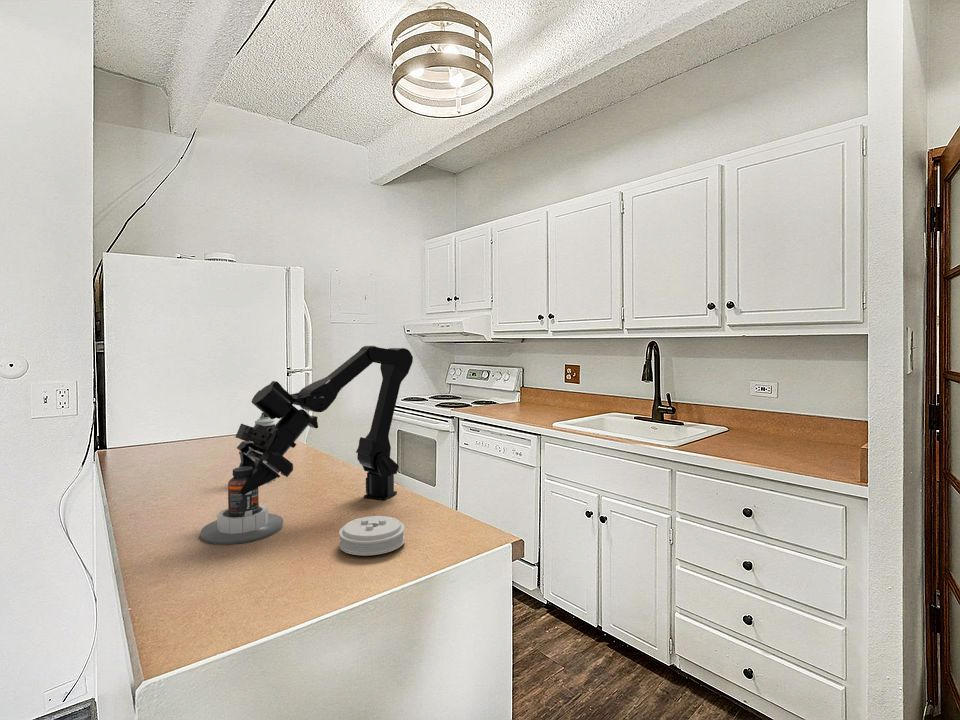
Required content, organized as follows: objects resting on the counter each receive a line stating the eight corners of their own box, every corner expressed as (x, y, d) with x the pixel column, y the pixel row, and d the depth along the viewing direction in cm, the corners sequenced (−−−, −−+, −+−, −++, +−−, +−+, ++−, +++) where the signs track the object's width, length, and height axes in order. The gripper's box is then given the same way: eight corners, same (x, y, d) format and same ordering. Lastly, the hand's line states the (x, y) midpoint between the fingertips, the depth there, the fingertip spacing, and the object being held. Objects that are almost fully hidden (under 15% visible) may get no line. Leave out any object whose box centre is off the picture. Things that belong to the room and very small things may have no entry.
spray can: (256, 483, 145) (255, 414, 144) (255, 479, 150) (253, 412, 149) (276, 481, 147) (275, 413, 147) (275, 477, 152) (273, 410, 152)
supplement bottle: (257, 523, 107) (256, 470, 107) (226, 526, 105) (225, 472, 105) (260, 514, 113) (259, 464, 112) (231, 517, 111) (229, 466, 111)
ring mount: (298, 521, 114) (298, 504, 114) (242, 549, 99) (242, 528, 99) (243, 513, 119) (243, 497, 119) (182, 538, 104) (182, 519, 104)
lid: (350, 534, 107) (349, 511, 106) (409, 535, 106) (409, 511, 106) (330, 560, 94) (329, 533, 94) (398, 560, 93) (397, 534, 93)
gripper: (244, 405, 118) (193, 461, 110) (276, 413, 104) (220, 477, 97) (279, 434, 123) (233, 489, 116) (314, 445, 110) (263, 508, 103)
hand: (236, 490), depth 108 cm, fingers closed on supplement bottle, 6 cm apart
